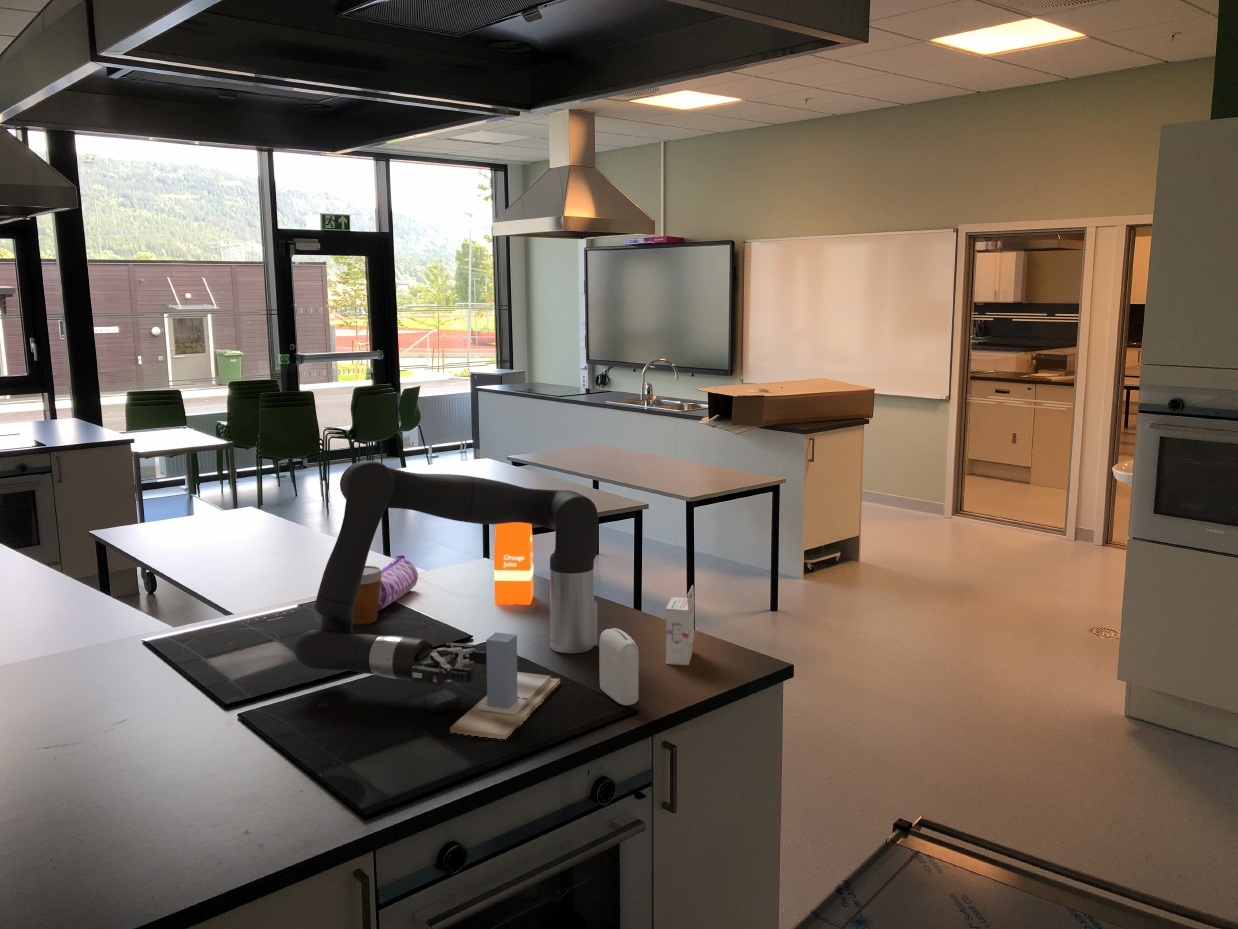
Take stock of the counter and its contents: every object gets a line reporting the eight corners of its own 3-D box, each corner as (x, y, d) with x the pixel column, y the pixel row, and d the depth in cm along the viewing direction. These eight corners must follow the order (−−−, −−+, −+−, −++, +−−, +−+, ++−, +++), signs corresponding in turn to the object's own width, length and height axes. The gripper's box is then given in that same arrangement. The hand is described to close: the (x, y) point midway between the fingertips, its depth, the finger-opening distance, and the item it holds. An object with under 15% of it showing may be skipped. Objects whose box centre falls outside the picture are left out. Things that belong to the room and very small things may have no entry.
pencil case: (386, 588, 243) (385, 552, 241) (421, 589, 242) (420, 554, 240) (352, 613, 221) (351, 574, 220) (390, 615, 220) (389, 576, 218)
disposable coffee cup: (392, 619, 217) (391, 568, 215) (361, 630, 209) (359, 578, 207) (364, 612, 222) (362, 563, 220) (332, 622, 214) (330, 571, 212)
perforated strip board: (511, 678, 181) (511, 668, 180) (560, 684, 178) (560, 674, 177) (450, 733, 156) (450, 722, 156) (505, 741, 153) (505, 730, 153)
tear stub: (490, 699, 167) (489, 630, 166) (526, 703, 165) (525, 634, 164) (478, 709, 163) (477, 639, 161) (515, 714, 161) (514, 643, 159)
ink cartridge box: (670, 650, 197) (671, 582, 195) (694, 652, 196) (695, 583, 194) (664, 664, 189) (665, 593, 186) (688, 666, 188) (690, 595, 185)
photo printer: (596, 688, 176) (596, 624, 174) (616, 684, 178) (617, 621, 176) (620, 708, 167) (620, 641, 165) (641, 704, 169) (642, 638, 167)
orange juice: (530, 604, 228) (529, 524, 226) (494, 604, 229) (493, 524, 226) (533, 595, 236) (533, 518, 233) (498, 595, 236) (497, 517, 233)
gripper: (379, 650, 161) (465, 660, 157) (420, 625, 175) (499, 634, 170) (381, 692, 163) (466, 703, 158) (421, 664, 176) (500, 673, 171)
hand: (483, 667), depth 164 cm, fingers open, 8 cm apart
